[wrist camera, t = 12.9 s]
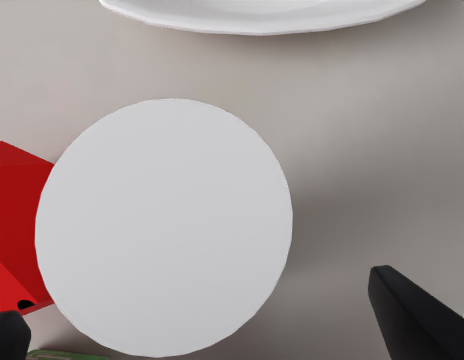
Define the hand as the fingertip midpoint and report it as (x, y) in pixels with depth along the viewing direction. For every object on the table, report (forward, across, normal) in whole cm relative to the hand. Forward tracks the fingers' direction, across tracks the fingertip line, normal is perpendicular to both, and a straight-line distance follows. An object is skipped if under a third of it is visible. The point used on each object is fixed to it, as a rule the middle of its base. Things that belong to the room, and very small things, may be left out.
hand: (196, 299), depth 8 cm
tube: (+9, 0, +7) cm, 12 cm away
